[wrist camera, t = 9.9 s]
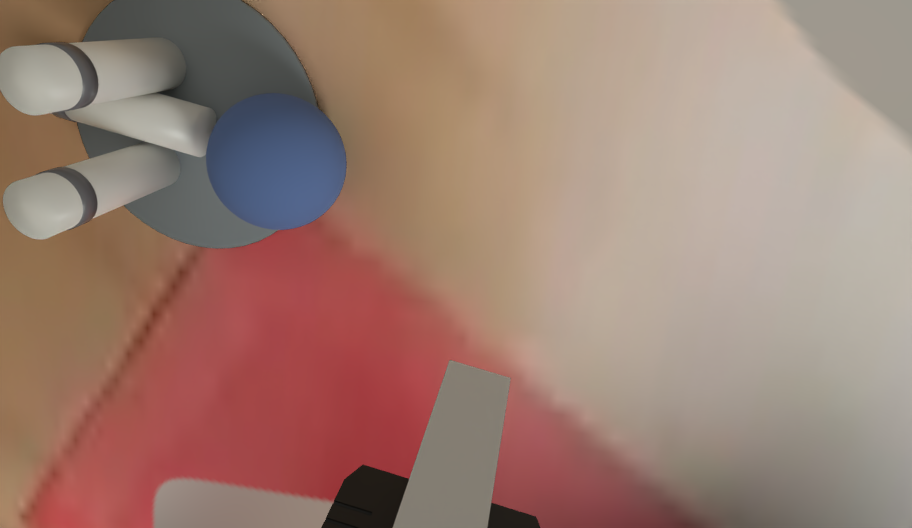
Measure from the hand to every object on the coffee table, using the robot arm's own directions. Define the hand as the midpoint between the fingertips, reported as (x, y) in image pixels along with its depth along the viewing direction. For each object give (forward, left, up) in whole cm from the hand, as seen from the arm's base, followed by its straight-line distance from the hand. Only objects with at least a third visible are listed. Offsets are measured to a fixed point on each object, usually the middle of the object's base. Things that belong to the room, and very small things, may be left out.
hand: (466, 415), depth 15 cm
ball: (+11, 0, -13) cm, 17 cm away
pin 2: (+18, +2, -16) cm, 25 cm away
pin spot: (+16, 0, -16) cm, 23 cm away
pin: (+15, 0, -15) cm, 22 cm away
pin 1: (+18, -2, -16) cm, 25 cm away
